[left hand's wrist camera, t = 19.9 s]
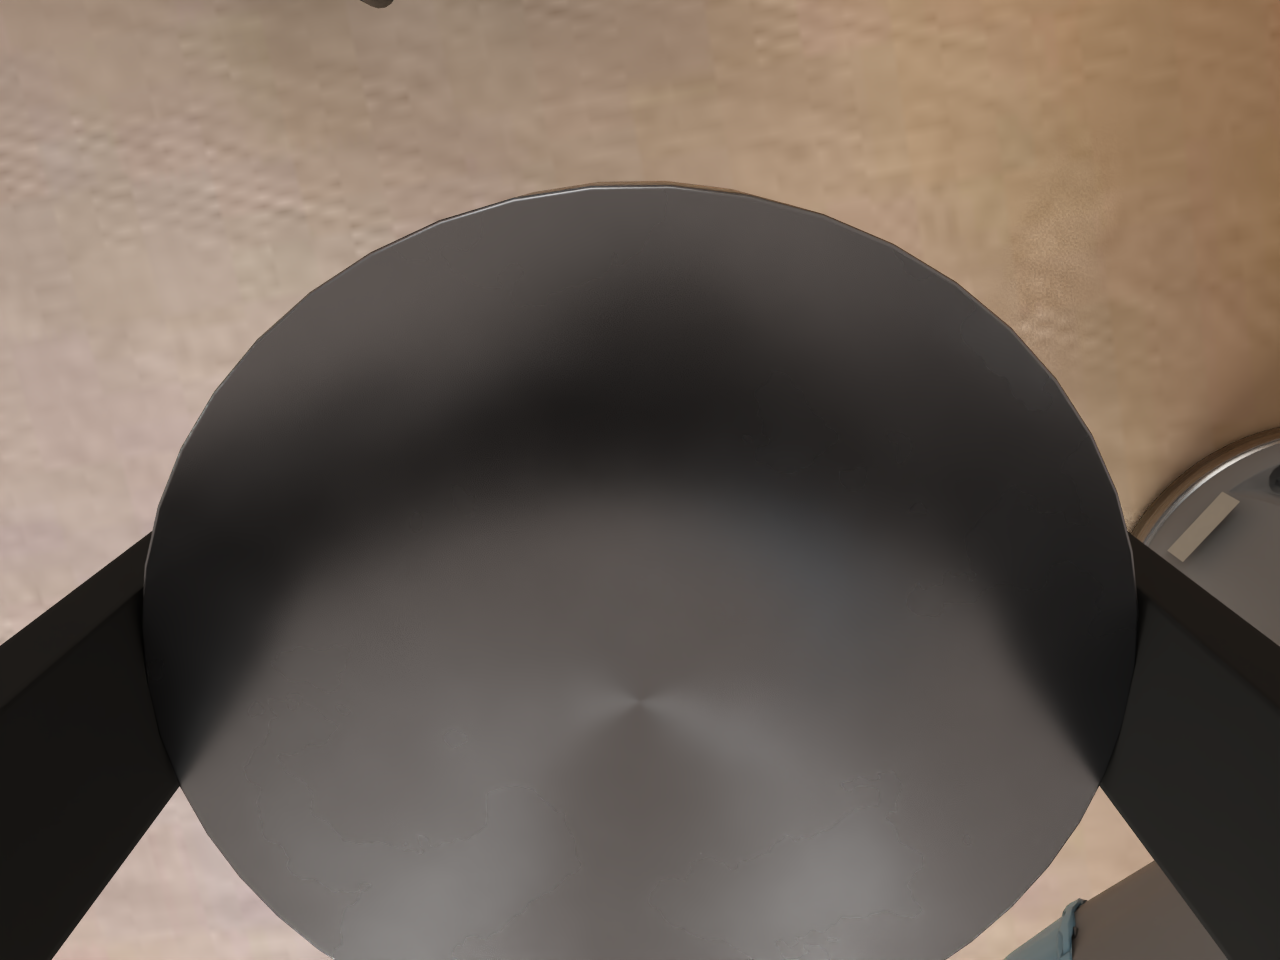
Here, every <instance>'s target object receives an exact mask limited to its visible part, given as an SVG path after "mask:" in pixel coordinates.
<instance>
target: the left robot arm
mask: <svg viewBox="0 0 1280 960" xmlns="http://www.w3.org/2000/svg"><path fill="white" fill-rule="evenodd" d="M1127 532H1128V531H1127ZM1128 535H1129V539H1130V543H1131V547H1132V551H1133V560H1134V570H1135V580H1136V590H1137V600H1138V610H1139V611H1138V630H1137V648H1136V665H1135V670H1134V674H1133V679H1132V683H1131V688H1130V692H1129V697H1128V702H1127V706H1126V711H1125V715H1124V720H1123V724H1122V728H1121V732H1120V735H1119V738H1118V740H1117V743H1116V746H1115V749H1114V751H1113V754H1112V757H1111V760H1110V762H1109V765H1108V768H1107V771H1106V773H1105V776H1104V777H1103V779H1102V781H1101V783H1100V785H1099V786H1100V787H1101V788H1102V790H1103V791H1104V792H1105V794H1106V795H1107V796H1108V798H1109V799H1110V800H1111V802H1112V803H1113V805H1114V806H1115V807H1116V809H1117V810H1118V811H1119V813H1120V814H1121V815H1122V817H1123V818H1124V819H1125V821H1126V822H1127V824H1128V825H1129V826H1130V828H1131V829H1132V830H1133V832H1134V833H1135V834H1136V836H1137V837H1138V838H1139V840H1140V841H1141V843H1142V844H1143V845H1144V847H1145V848H1146V849H1147V851H1148V852H1149V853H1150V855H1151V856H1152V857H1153V859H1154V860H1155V861H1153V862H1151V863H1150V864H1148V865H1146V866H1145V867H1143V868H1142V869H1140V870H1138V871H1137V872H1135V873H1133V874H1132V875H1130V876H1128V877H1127V878H1125V879H1123V880H1122V881H1120V882H1118V883H1117V884H1115V885H1113V886H1112V887H1110V888H1108V889H1107V890H1105V891H1104V892H1102V893H1100V894H1099V895H1097V896H1095V897H1094V898H1092V899H1090V900H1089V901H1087V900H1083V899H1080V898H1079V899H1077V900H1075V901H1074V902H1072V903H1070V904H1069V905H1067V906H1066V908H1065V910H1064V911H1063V914H1062V917H1061V918H1059V919H1058V920H1057V921H1055V922H1054V923H1052V924H1051V925H1050V926H1048V927H1047V928H1045V929H1044V930H1043V931H1041V932H1040V933H1038V934H1037V935H1036V936H1034V937H1033V938H1031V939H1030V940H1029V941H1027V942H1026V943H1024V944H1023V945H1022V946H1020V947H1019V948H1017V949H1016V950H1014V951H1013V952H1012V953H1010V954H1009V955H1008V956H1007V957H1006V958H1005V959H1004V960H1280V427H1278V428H1274V429H1270V430H1267V431H1263V432H1259V433H1256V434H1254V435H1251V436H1248V437H1245V438H1243V439H1240V440H1238V441H1236V442H1234V443H1231V444H1229V445H1227V446H1225V447H1223V448H1221V449H1219V450H1218V451H1216V452H1214V453H1212V454H1210V455H1209V456H1207V457H1206V458H1204V459H1203V460H1201V461H1200V462H1198V463H1197V464H1195V465H1194V466H1192V467H1191V468H1190V469H1188V470H1187V471H1186V472H1184V473H1183V474H1182V475H1181V476H1179V477H1178V478H1177V479H1176V480H1175V481H1174V482H1173V483H1172V484H1170V485H1169V486H1168V487H1167V488H1166V489H1165V490H1164V491H1163V492H1162V493H1161V494H1160V495H1159V497H1158V498H1157V499H1156V500H1155V501H1154V502H1153V503H1152V504H1151V506H1150V507H1149V508H1148V509H1147V511H1146V512H1145V513H1144V515H1143V516H1142V517H1141V519H1140V520H1139V522H1138V523H1137V525H1136V526H1135V528H1134V530H1133V531H1132V533H1131V534H1130V533H1129V532H1128ZM151 536H152V532H150V533H149V534H148V535H146V536H145V537H144V538H142V539H141V540H140V541H138V542H137V543H136V544H134V545H133V546H132V547H130V548H129V549H128V550H126V551H125V552H124V553H122V554H121V555H120V556H118V557H117V558H116V559H115V560H113V561H112V562H111V563H109V564H108V565H107V566H105V567H104V568H103V569H101V570H100V571H99V572H97V573H96V574H95V575H93V576H92V577H91V578H89V579H88V580H87V581H85V582H84V583H83V584H81V585H80V586H79V587H77V588H76V589H75V590H74V591H72V592H71V593H70V594H68V595H67V596H66V597H64V598H63V599H62V600H60V601H59V602H58V603H56V604H55V605H54V606H52V607H51V608H50V609H48V610H47V611H46V612H44V613H43V614H42V615H40V616H39V617H38V618H36V619H35V620H34V621H33V622H31V623H30V624H29V625H27V626H26V627H25V628H23V629H22V630H21V631H19V632H18V633H17V634H15V635H14V636H13V637H11V638H10V639H9V640H7V641H6V642H5V643H3V644H2V645H1V646H0V960H52V958H53V957H54V956H55V954H56V953H57V952H58V950H59V949H60V947H61V946H62V945H63V943H64V942H65V941H66V939H67V938H68V937H69V935H70V934H71V933H72V931H73V930H74V928H75V927H76V926H77V924H78V923H79V922H80V920H81V919H82V918H83V916H84V915H85V914H86V912H87V911H88V910H89V908H90V907H91V905H92V904H93V903H94V901H95V900H96V899H97V897H98V896H99V895H100V893H101V892H102V891H103V889H104V888H105V886H106V885H107V884H108V882H109V881H110V880H111V878H112V877H113V876H114V874H115V873H116V872H117V870H118V869H119V867H120V866H121V865H122V863H123V862H124V861H125V859H126V858H127V857H128V855H129V854H130V853H131V851H132V850H133V848H134V847H135V846H136V844H137V843H138V842H139V840H140V839H141V838H142V836H143V835H144V834H145V832H146V831H147V830H148V828H149V827H150V825H151V824H152V823H153V821H154V820H155V819H156V817H157V816H158V815H159V813H160V812H161V811H162V809H163V808H164V806H165V805H166V804H167V802H168V801H169V800H170V798H171V797H172V796H173V794H174V793H175V792H176V790H177V789H178V787H179V786H180V785H179V782H178V780H177V777H176V775H175V772H174V770H173V767H172V765H171V762H170V760H169V757H168V755H167V753H166V750H165V748H164V745H163V743H162V740H161V738H160V735H159V731H158V726H157V722H156V718H155V713H154V709H153V705H152V700H151V696H150V692H149V687H148V683H147V678H146V672H145V661H144V650H143V639H142V628H141V619H142V603H143V587H144V571H145V563H146V558H147V554H148V549H149V545H150V540H151Z"/></svg>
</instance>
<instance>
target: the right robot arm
mask: <svg viewBox="0 0 1280 960" xmlns="http://www.w3.org/2000/svg"><path fill="white" fill-rule="evenodd" d="M361 1H363V2H365V3H366V4H368V5H370V6H373V7H376V8H384V7H387V6H388V5H390V4H391V3H392V1H393V0H361Z"/></svg>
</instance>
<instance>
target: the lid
mask: <svg viewBox="0 0 1280 960" xmlns="http://www.w3.org/2000/svg"><path fill="white" fill-rule="evenodd" d="M1138 611H1139V610H1138V600H1137V590H1136V580H1135V570H1134V560H1133V551H1132V547H1131V543H1130V539H1129V535H1128V532H1127V528H1126V524H1125V520H1124V516H1123V512H1122V509H1121V505H1120V501H1119V497H1118V493H1117V490H1116V488H1115V486H1114V484H1113V481H1112V479H1111V477H1110V474H1109V472H1108V470H1107V468H1106V465H1105V463H1104V461H1103V458H1102V456H1101V454H1100V452H1099V449H1098V447H1097V445H1096V443H1095V440H1094V438H1093V436H1092V434H1091V432H1090V430H1089V429H1088V427H1087V426H1086V424H1085V423H1084V421H1083V420H1082V418H1081V416H1080V415H1079V413H1078V412H1077V410H1076V409H1075V407H1074V406H1073V404H1072V402H1071V401H1070V399H1069V398H1068V396H1067V395H1066V393H1065V392H1064V390H1063V388H1062V387H1061V385H1060V384H1059V382H1058V381H1057V379H1056V378H1055V377H1054V376H1053V374H1052V373H1051V372H1050V371H1049V370H1048V369H1047V368H1046V367H1045V365H1044V364H1043V363H1042V362H1041V361H1040V360H1039V359H1038V358H1037V356H1036V355H1035V354H1034V353H1033V352H1032V351H1031V350H1030V349H1029V347H1028V346H1027V345H1026V344H1025V343H1024V342H1023V341H1022V339H1021V338H1020V337H1019V336H1018V335H1017V334H1016V333H1015V332H1014V330H1013V329H1012V328H1011V327H1010V326H1008V325H1007V324H1006V323H1005V322H1004V321H1002V320H1001V319H1000V318H999V317H998V316H996V315H995V314H994V313H993V312H992V311H990V310H989V309H988V308H987V307H986V306H984V305H983V304H982V303H981V302H980V301H978V300H977V299H976V298H975V297H974V296H972V295H971V294H970V293H969V292H968V291H966V290H965V289H964V288H963V287H962V286H960V285H959V284H958V283H957V282H955V281H954V280H952V279H950V278H949V277H947V276H945V275H944V274H942V273H940V272H939V271H937V270H935V269H934V268H932V267H931V266H929V265H927V264H926V263H924V262H922V261H921V260H919V259H917V258H916V257H914V256H912V255H911V254H909V253H908V252H906V251H904V250H903V249H901V248H899V247H898V246H896V245H894V244H892V243H890V242H888V241H885V240H883V239H881V238H878V237H876V236H874V235H871V234H869V233H867V232H864V231H862V230H860V229H857V228H855V227H853V226H850V225H848V224H845V223H843V222H841V221H838V220H836V219H834V218H831V217H829V216H827V215H824V214H821V213H818V212H814V211H810V210H807V209H803V208H800V207H796V206H793V205H789V204H785V203H781V202H778V201H774V200H770V199H766V198H763V197H759V196H755V195H751V194H748V193H744V192H740V191H736V190H733V189H727V188H719V187H711V186H702V185H694V184H686V183H678V182H670V181H631V182H596V183H590V184H583V185H577V186H570V187H564V188H558V189H551V190H545V191H538V192H533V193H529V194H526V195H522V196H519V197H515V198H512V199H508V200H505V201H502V202H498V203H495V204H492V205H488V206H485V207H482V208H479V209H475V210H472V211H469V212H465V213H462V214H459V215H455V216H452V217H449V218H446V219H442V220H439V221H437V222H435V223H433V224H430V225H428V226H426V227H424V228H422V229H420V230H418V231H415V232H413V233H411V234H409V235H407V236H405V237H403V238H400V239H398V240H396V241H394V242H392V243H390V244H388V245H385V246H383V247H381V248H379V249H377V250H375V251H373V252H371V253H369V254H368V255H366V256H364V257H363V258H361V259H360V260H358V261H357V262H355V263H354V264H352V265H351V266H349V267H348V268H346V269H345V270H343V271H342V272H340V273H339V274H337V275H336V276H334V277H333V278H331V279H329V280H328V281H326V282H325V283H323V284H322V285H320V286H319V287H317V288H316V289H314V290H313V291H311V292H310V293H309V294H307V295H306V296H305V297H304V298H303V299H302V300H301V301H300V302H298V303H297V304H296V305H295V306H294V307H293V308H292V309H291V310H290V311H288V312H287V313H286V314H285V315H284V316H283V317H282V318H281V319H280V320H278V321H277V322H276V323H275V324H274V325H273V326H272V327H271V328H269V329H268V330H267V331H266V332H265V333H264V334H263V335H262V336H261V337H259V338H258V339H257V340H256V342H255V343H254V344H253V345H252V346H251V348H250V349H249V350H248V351H247V352H246V354H245V355H244V356H243V357H242V359H241V360H240V361H239V362H238V363H237V365H236V366H235V367H234V368H233V369H232V371H231V372H230V373H229V374H228V376H227V377H226V378H225V379H224V380H223V382H222V383H221V384H220V385H219V386H218V388H217V389H216V390H215V391H214V393H213V395H212V396H211V398H210V400H209V401H208V403H207V405H206V406H205V408H204V410H203V411H202V413H201V415H200V417H199V418H198V420H197V422H196V423H195V425H194V427H193V428H192V430H191V432H190V433H189V435H188V437H187V439H186V440H185V442H184V444H183V445H182V447H181V449H180V452H179V454H178V457H177V459H176V462H175V464H174V467H173V469H172V472H171V475H170V477H169V480H168V482H167V485H166V487H165V490H164V492H163V495H162V497H161V500H160V502H159V505H158V509H157V513H156V518H155V522H154V527H153V531H152V536H151V540H150V545H149V549H148V554H147V558H146V563H145V571H144V587H143V603H142V619H141V628H142V639H143V650H144V661H145V672H146V678H147V683H148V687H149V692H150V696H151V700H152V705H153V709H154V713H155V718H156V722H157V726H158V731H159V735H160V738H161V740H162V743H163V745H164V748H165V750H166V753H167V755H168V757H169V760H170V762H171V765H172V767H173V770H174V772H175V775H176V777H177V780H178V782H179V785H180V787H181V789H182V791H183V792H184V794H185V796H186V798H187V799H188V801H189V803H190V805H191V806H192V808H193V810H194V812H195V813H196V815H197V817H198V819H199V820H200V822H201V824H202V826H203V828H204V829H205V831H206V833H207V834H208V836H209V837H210V838H211V840H212V841H213V842H214V844H215V845H216V846H217V848H218V849H219V850H220V852H221V853H222V854H223V856H224V857H225V858H226V860H227V861H228V862H229V864H230V865H231V866H232V868H233V869H234V870H235V872H236V873H237V874H238V875H239V877H240V878H241V879H242V880H243V881H244V882H245V883H246V884H247V885H248V886H249V887H250V888H251V889H252V890H253V891H254V892H255V893H256V894H257V895H258V897H259V898H260V899H261V900H262V901H263V902H264V903H265V904H266V905H267V906H268V907H269V908H270V909H271V910H272V911H273V912H274V913H275V914H276V915H277V916H278V917H279V918H280V919H282V920H283V921H284V922H285V923H287V924H288V925H289V926H290V927H291V928H293V929H294V930H295V931H296V932H297V933H299V934H300V935H301V936H302V937H304V938H305V939H306V940H307V941H308V942H310V943H311V944H312V945H313V946H315V947H316V948H317V949H318V950H320V951H321V952H323V953H324V954H326V955H327V956H329V957H330V958H332V959H333V960H946V959H947V958H949V957H950V956H952V955H953V954H955V953H956V952H958V951H959V950H961V949H962V948H963V947H965V946H966V945H968V944H969V943H971V942H972V941H973V940H974V939H975V938H977V937H978V936H979V935H980V934H981V933H982V932H984V931H985V930H986V929H987V928H988V927H989V926H990V925H992V924H993V923H994V922H995V921H996V920H997V919H998V918H1000V917H1001V916H1002V915H1003V914H1004V913H1005V912H1007V911H1008V910H1009V909H1010V908H1011V907H1012V906H1013V905H1014V904H1015V903H1016V902H1017V901H1018V900H1019V899H1020V897H1021V896H1022V895H1023V894H1024V893H1025V892H1026V891H1027V890H1028V889H1029V888H1030V886H1031V885H1032V884H1033V883H1034V882H1035V881H1036V880H1037V879H1038V878H1039V877H1040V876H1041V874H1042V873H1043V872H1044V871H1045V870H1046V869H1047V868H1048V867H1049V865H1050V864H1051V862H1052V861H1053V860H1054V858H1055V857H1056V855H1057V854H1058V853H1059V851H1060V850H1061V848H1062V847H1063V846H1064V844H1065V843H1066V841H1067V840H1068V838H1069V837H1070V836H1071V834H1072V833H1073V831H1074V830H1075V829H1076V827H1077V826H1078V824H1079V823H1080V821H1081V819H1082V817H1083V815H1084V814H1085V812H1086V810H1087V808H1088V806H1089V804H1090V802H1091V800H1092V798H1093V796H1094V795H1095V793H1096V791H1097V789H1098V787H1099V785H1100V783H1101V781H1102V779H1103V777H1104V776H1105V773H1106V771H1107V768H1108V765H1109V762H1110V760H1111V757H1112V754H1113V751H1114V749H1115V746H1116V743H1117V740H1118V738H1119V735H1120V732H1121V728H1122V724H1123V720H1124V715H1125V711H1126V706H1127V702H1128V697H1129V692H1130V688H1131V683H1132V679H1133V674H1134V670H1135V665H1136V648H1137V630H1138Z"/></svg>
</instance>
